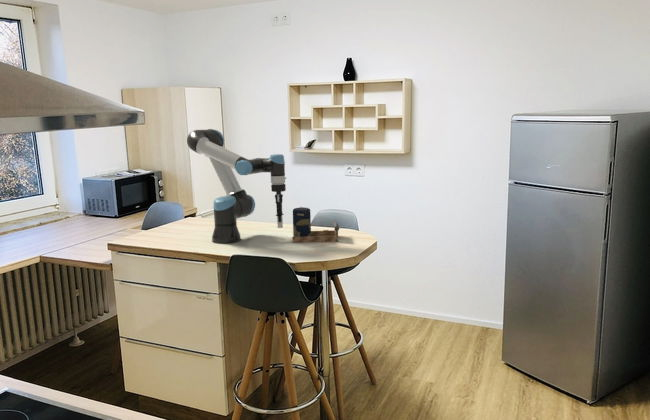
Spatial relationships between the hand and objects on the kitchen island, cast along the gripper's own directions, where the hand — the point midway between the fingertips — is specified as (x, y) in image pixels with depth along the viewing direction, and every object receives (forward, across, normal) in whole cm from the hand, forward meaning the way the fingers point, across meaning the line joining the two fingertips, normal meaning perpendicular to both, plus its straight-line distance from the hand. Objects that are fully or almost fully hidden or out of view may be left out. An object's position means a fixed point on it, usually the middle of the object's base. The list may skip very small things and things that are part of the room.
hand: (280, 227), depth 281 cm
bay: (+7, 0, -18) cm, 20 cm away
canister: (+7, 0, -12) cm, 14 cm away
